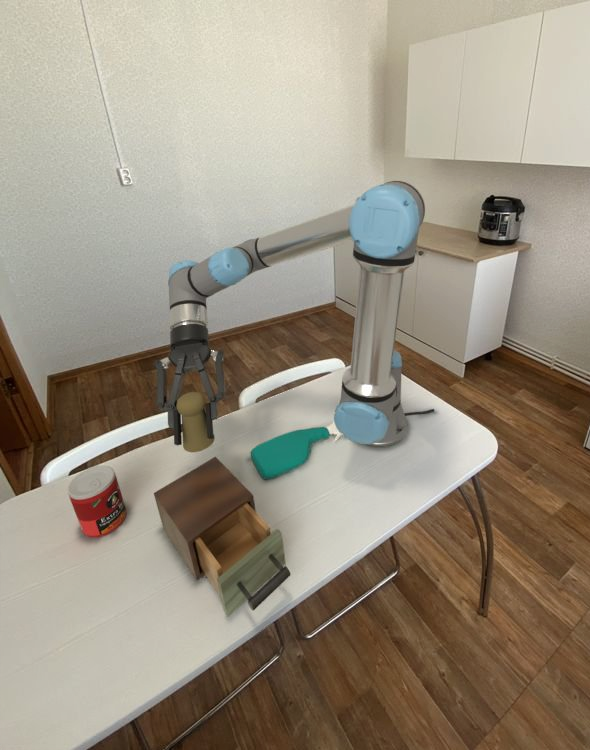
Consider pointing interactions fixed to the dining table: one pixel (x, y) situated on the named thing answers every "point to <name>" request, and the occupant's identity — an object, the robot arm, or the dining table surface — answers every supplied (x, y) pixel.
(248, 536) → the drawer
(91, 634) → the dining table surface
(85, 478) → the canned food
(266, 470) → the spray bottle
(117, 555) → the dining table surface
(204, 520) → the cabinet
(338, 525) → the dining table surface
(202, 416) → the cork
